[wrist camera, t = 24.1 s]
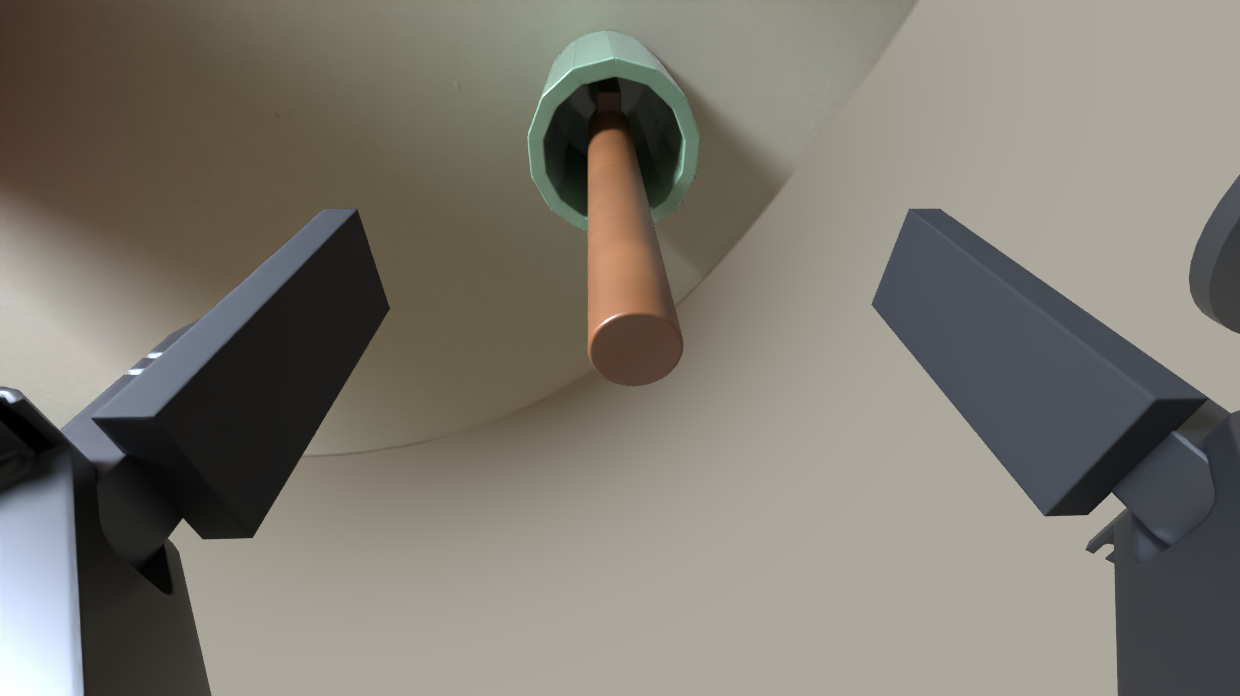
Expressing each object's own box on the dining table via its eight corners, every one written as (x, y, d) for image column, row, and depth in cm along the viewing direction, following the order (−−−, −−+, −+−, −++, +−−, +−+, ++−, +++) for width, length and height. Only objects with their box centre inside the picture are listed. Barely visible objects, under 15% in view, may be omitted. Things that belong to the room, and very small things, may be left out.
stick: (623, 70, 24) (692, 276, 8) (622, 139, 26) (676, 411, 10) (587, 70, 24) (585, 278, 8) (588, 139, 26) (589, 413, 10)
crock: (673, 29, 24) (709, 58, 17) (663, 166, 28) (689, 236, 21) (539, 28, 23) (519, 56, 16) (549, 167, 27) (536, 238, 20)
